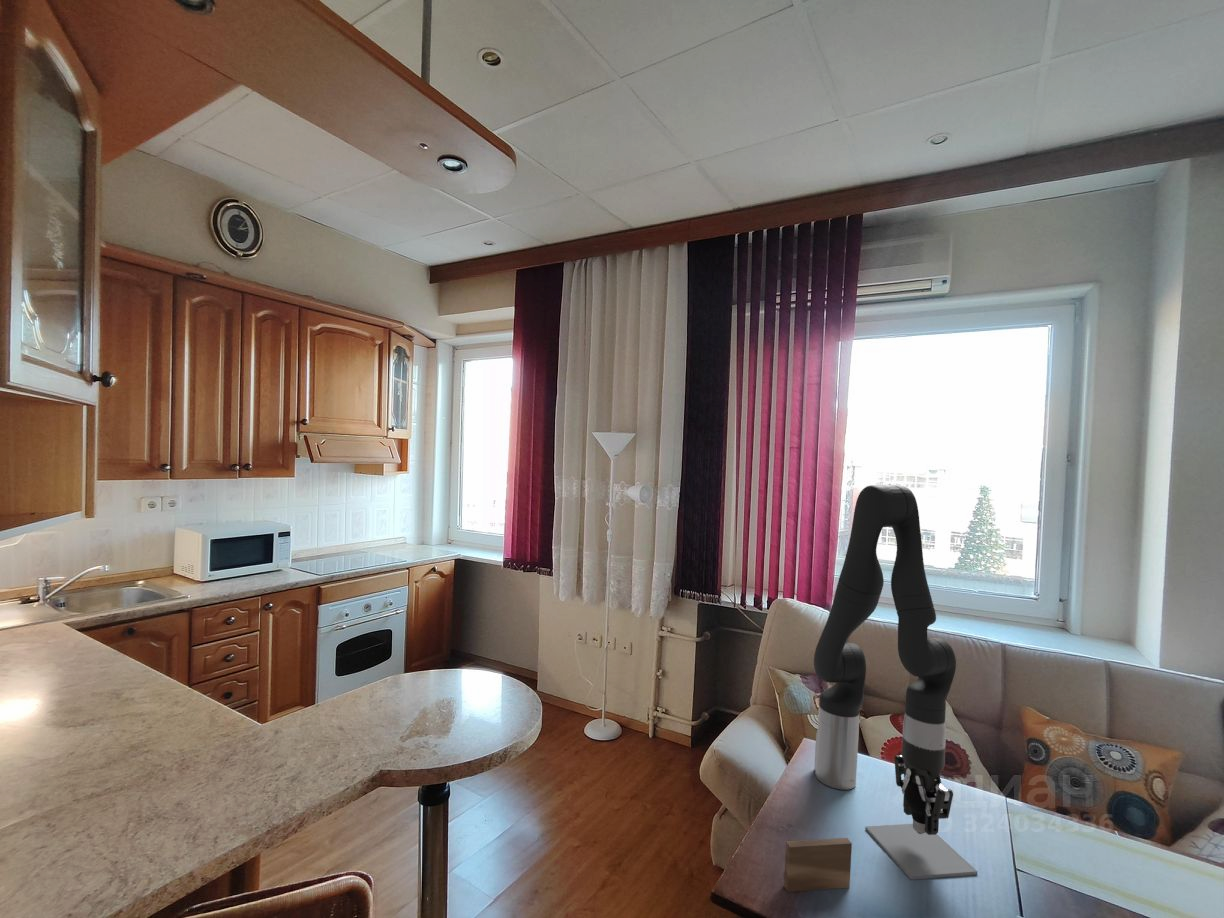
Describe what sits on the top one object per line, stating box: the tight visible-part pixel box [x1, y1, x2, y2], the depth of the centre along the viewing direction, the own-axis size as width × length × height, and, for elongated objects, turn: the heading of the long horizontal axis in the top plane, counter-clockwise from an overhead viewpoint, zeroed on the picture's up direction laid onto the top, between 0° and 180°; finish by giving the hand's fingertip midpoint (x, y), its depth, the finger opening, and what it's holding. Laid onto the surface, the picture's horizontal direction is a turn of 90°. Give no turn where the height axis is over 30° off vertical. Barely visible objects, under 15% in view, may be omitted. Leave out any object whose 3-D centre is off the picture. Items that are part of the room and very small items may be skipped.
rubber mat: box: [864, 823, 978, 880], centre depth 111 cm, size 14×14×1 cm
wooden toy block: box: [783, 837, 853, 893], centre depth 100 cm, size 2×12×8 cm, turn 99°
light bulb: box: [905, 782, 935, 834], centre depth 111 cm, size 6×6×10 cm
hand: (919, 822), depth 111 cm, fingers closed on light bulb, 5 cm apart
